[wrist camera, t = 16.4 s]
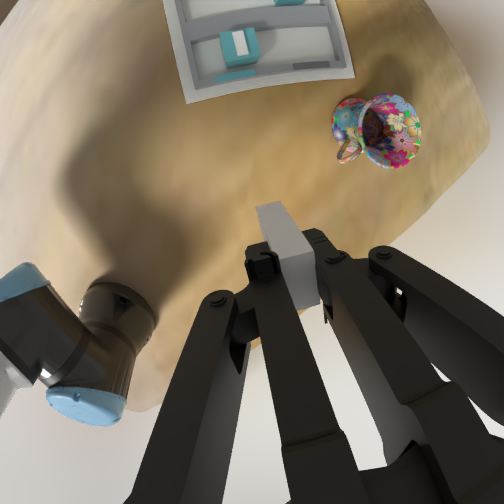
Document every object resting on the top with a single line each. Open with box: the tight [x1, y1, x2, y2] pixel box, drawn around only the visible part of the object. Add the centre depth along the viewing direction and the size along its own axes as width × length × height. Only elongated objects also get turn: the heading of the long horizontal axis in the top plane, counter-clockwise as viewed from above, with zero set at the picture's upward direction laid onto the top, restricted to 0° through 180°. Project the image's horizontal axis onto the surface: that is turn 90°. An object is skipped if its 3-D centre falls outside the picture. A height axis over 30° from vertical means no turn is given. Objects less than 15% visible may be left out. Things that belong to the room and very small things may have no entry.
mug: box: [332, 93, 422, 169], centre depth 32 cm, size 12×9×11 cm
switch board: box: [163, 0, 355, 104], centre depth 27 cm, size 24×20×3 cm
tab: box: [219, 27, 261, 69], centre depth 27 cm, size 4×4×6 cm
